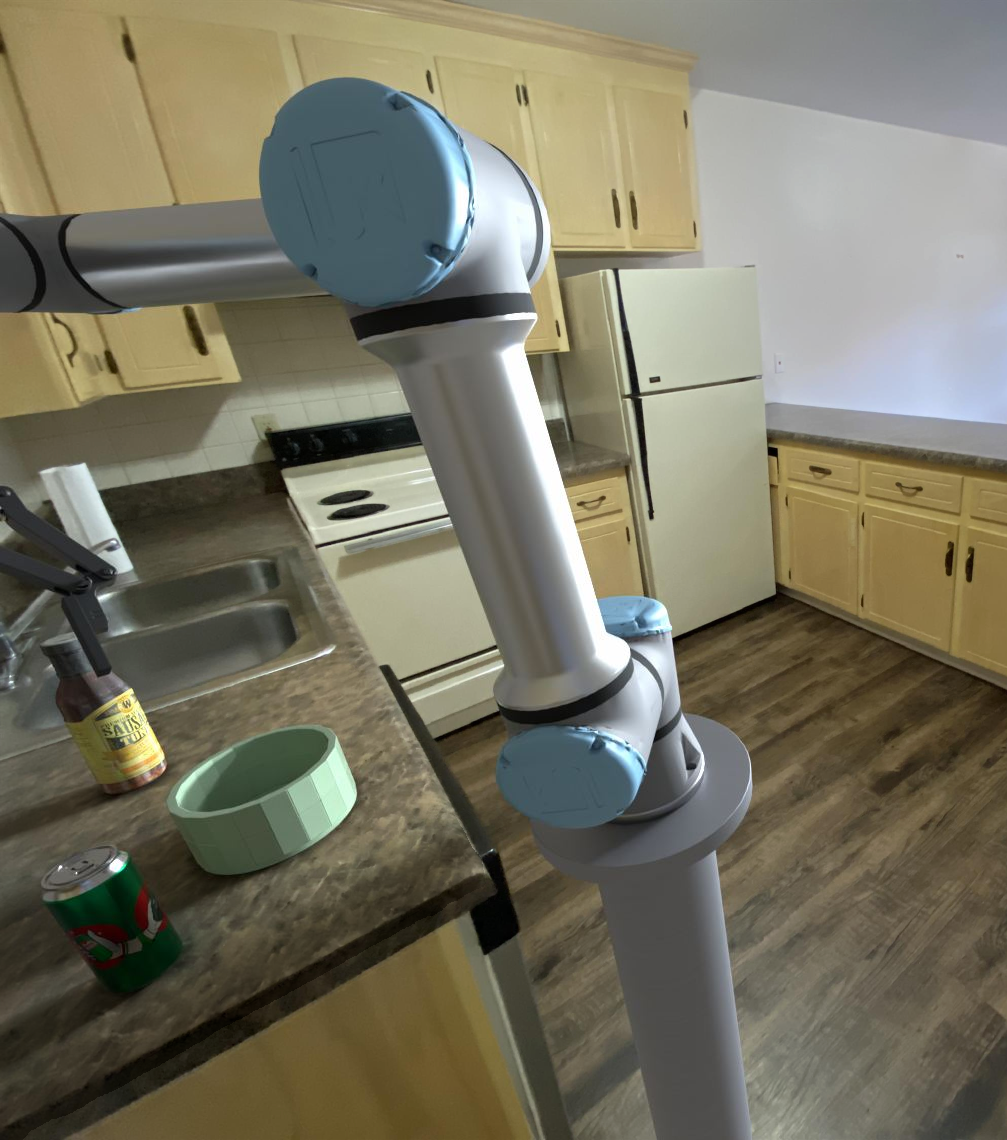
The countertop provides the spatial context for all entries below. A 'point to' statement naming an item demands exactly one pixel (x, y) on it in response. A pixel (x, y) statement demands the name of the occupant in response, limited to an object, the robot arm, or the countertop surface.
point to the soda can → (111, 918)
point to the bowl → (263, 799)
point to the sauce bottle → (104, 720)
